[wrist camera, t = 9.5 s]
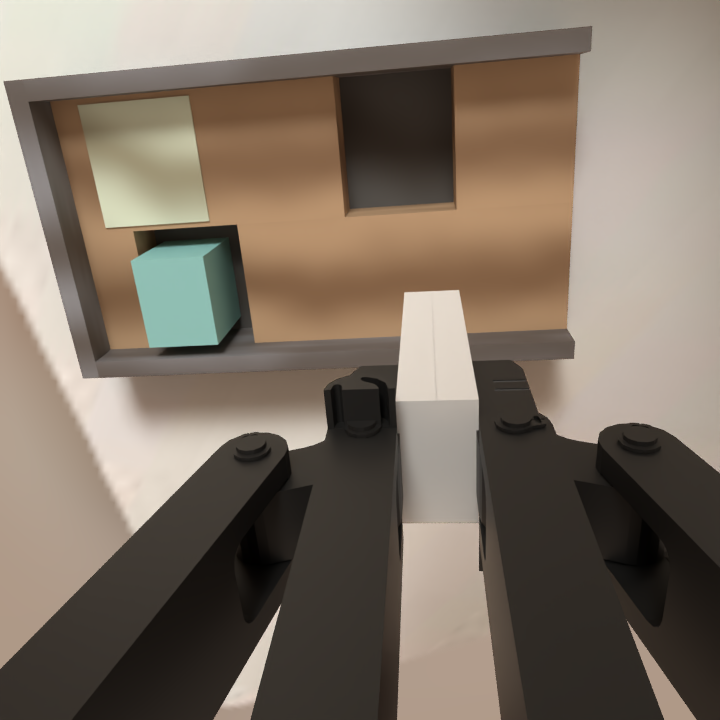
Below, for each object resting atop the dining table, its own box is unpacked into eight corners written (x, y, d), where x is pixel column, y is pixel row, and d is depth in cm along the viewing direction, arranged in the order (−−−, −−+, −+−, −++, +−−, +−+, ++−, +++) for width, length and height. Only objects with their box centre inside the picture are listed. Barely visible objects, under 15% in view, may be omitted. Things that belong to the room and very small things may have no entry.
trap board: (56, 83, 35) (3, 81, 31) (567, 36, 33) (591, 26, 28) (119, 347, 42) (83, 378, 37) (554, 327, 39) (573, 358, 34)
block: (228, 237, 38) (164, 241, 38) (202, 256, 33) (130, 260, 34) (240, 316, 40) (180, 319, 40) (218, 344, 35) (149, 347, 36)
